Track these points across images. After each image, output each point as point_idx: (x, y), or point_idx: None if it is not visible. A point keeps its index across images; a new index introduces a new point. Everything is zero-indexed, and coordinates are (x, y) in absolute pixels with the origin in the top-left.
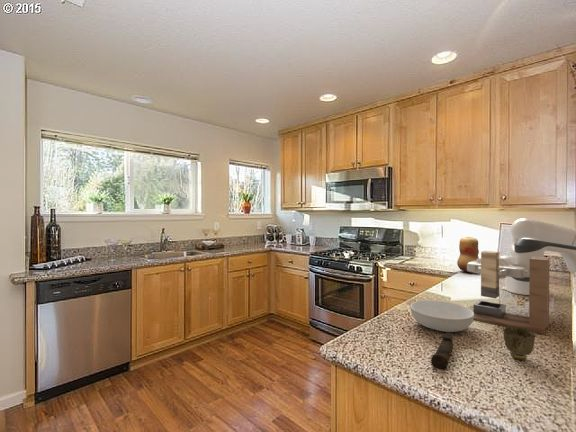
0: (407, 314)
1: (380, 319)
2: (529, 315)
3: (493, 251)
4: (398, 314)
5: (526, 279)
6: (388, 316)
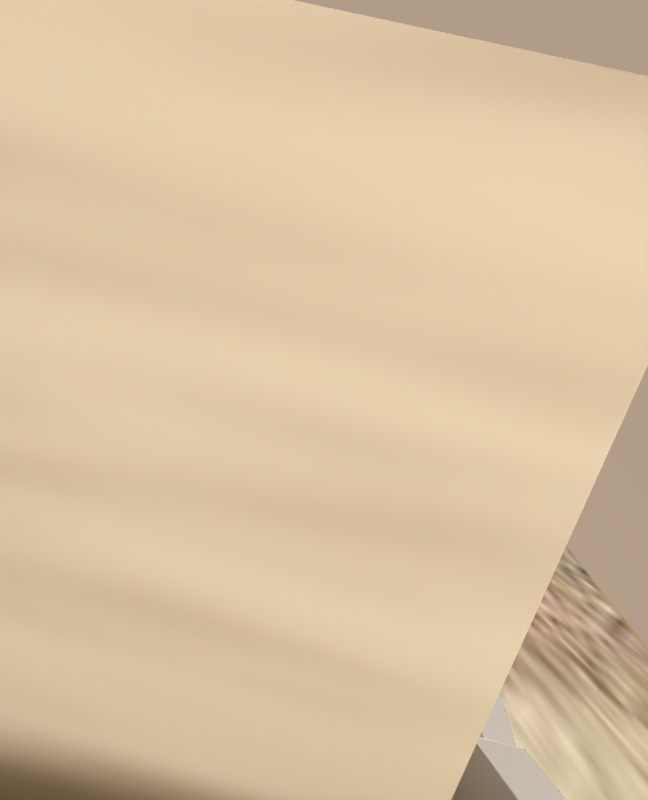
0: (584, 663)
1: (567, 564)
2: None
3: (286, 27)
4: (599, 643)
5: None
6: (588, 601)
